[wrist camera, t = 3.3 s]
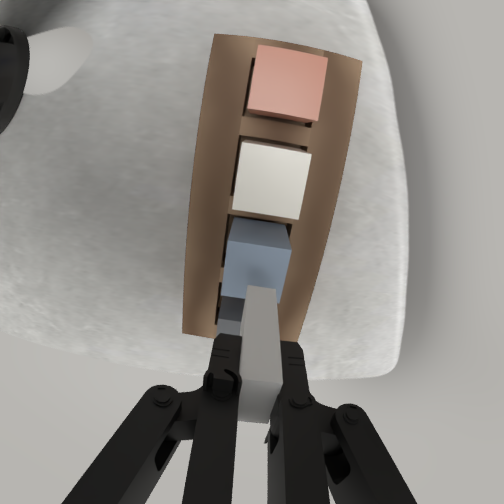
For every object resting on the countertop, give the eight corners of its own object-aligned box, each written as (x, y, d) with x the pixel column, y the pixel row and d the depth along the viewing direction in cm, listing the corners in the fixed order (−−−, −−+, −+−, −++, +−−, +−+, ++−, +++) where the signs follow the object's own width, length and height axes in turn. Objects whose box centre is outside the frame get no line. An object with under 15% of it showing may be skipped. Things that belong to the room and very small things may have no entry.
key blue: (227, 262, 24) (220, 295, 20) (234, 216, 23) (227, 240, 18) (275, 269, 24) (279, 303, 20) (285, 224, 23) (291, 250, 18)
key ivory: (237, 191, 22) (231, 209, 17) (245, 139, 20) (241, 142, 16) (290, 200, 22) (298, 219, 17) (299, 148, 20) (311, 154, 16)
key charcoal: (220, 320, 27) (213, 357, 22) (225, 283, 25) (217, 318, 20) (263, 326, 27) (263, 364, 22) (271, 290, 25) (273, 326, 21)
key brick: (249, 113, 19) (247, 108, 15) (258, 63, 18) (258, 44, 13) (304, 122, 20) (317, 120, 15) (312, 73, 18) (328, 58, 13)
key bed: (190, 309, 31) (182, 333, 27) (220, 47, 20) (214, 33, 16) (291, 324, 31) (295, 348, 27) (347, 70, 21) (362, 61, 17)
